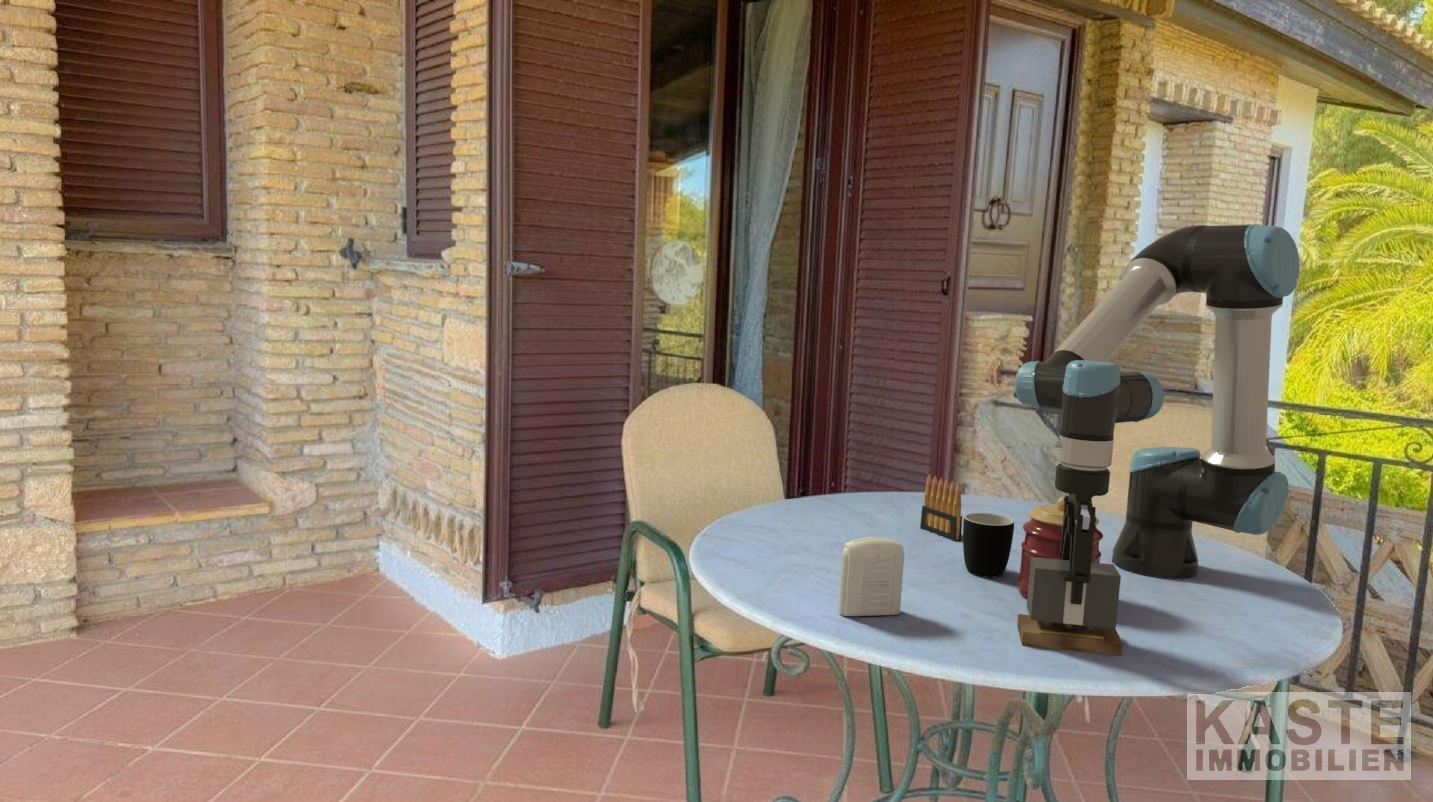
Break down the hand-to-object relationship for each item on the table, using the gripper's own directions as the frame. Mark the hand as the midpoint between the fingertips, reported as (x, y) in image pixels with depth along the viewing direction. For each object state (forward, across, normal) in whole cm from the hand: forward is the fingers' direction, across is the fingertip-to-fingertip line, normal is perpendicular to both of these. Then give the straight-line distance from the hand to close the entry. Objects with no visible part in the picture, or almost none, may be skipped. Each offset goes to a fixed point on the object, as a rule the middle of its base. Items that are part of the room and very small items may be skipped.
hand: (1069, 615), depth 151 cm
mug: (+4, -33, -11) cm, 35 cm away
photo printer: (+4, -3, -30) cm, 30 cm away
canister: (+4, -21, +1) cm, 22 cm away
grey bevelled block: (0, 0, 0) cm, 0 cm away
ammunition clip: (+4, -56, -18) cm, 59 cm away
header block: (+4, 0, 0) cm, 4 cm away
